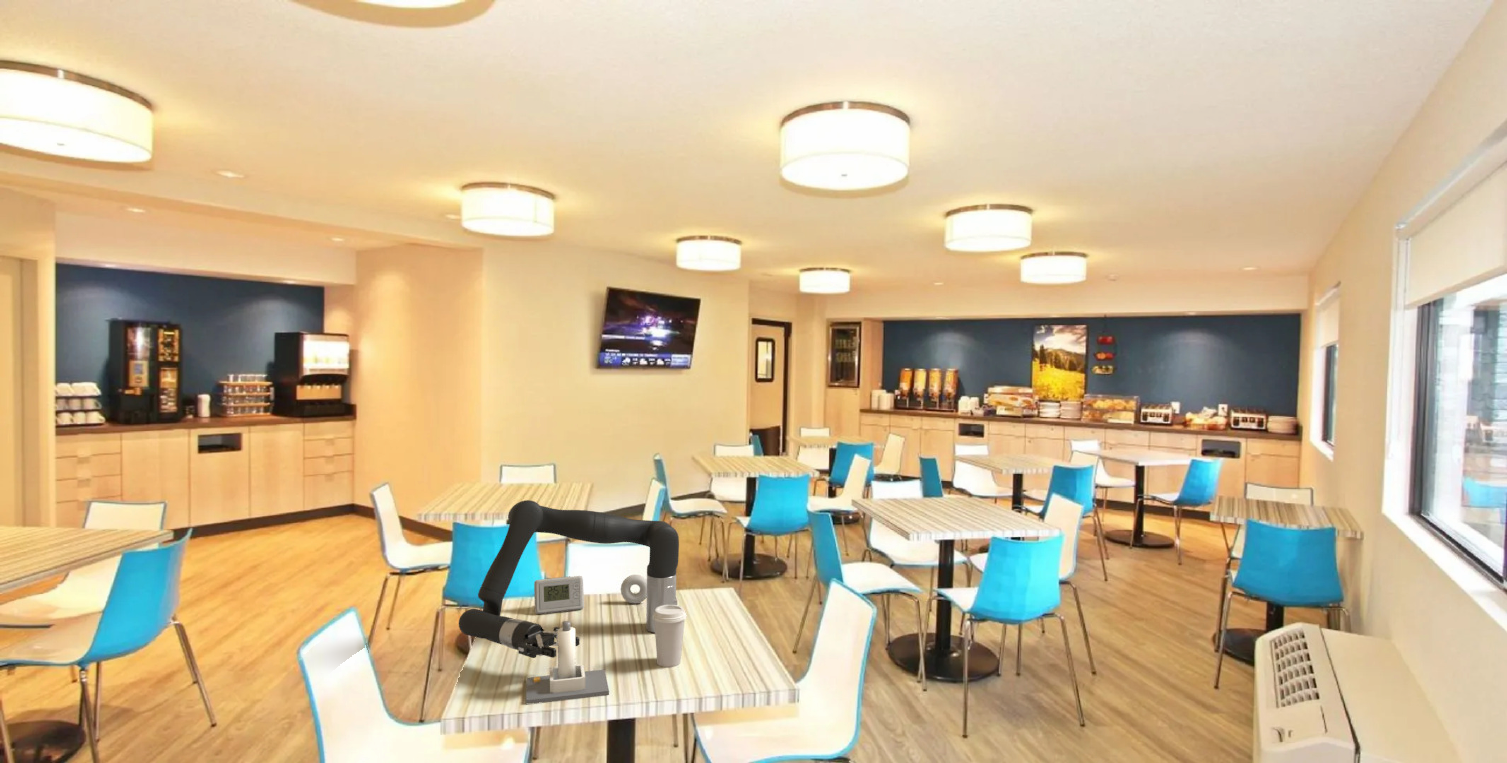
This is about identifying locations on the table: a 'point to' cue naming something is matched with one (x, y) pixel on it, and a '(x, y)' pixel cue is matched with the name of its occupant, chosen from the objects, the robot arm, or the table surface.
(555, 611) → the digital thermostat
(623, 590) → the donut
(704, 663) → the table surface
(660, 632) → the coffee cup
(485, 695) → the table surface
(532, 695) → the floor socket
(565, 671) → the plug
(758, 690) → the table surface
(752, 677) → the table surface
